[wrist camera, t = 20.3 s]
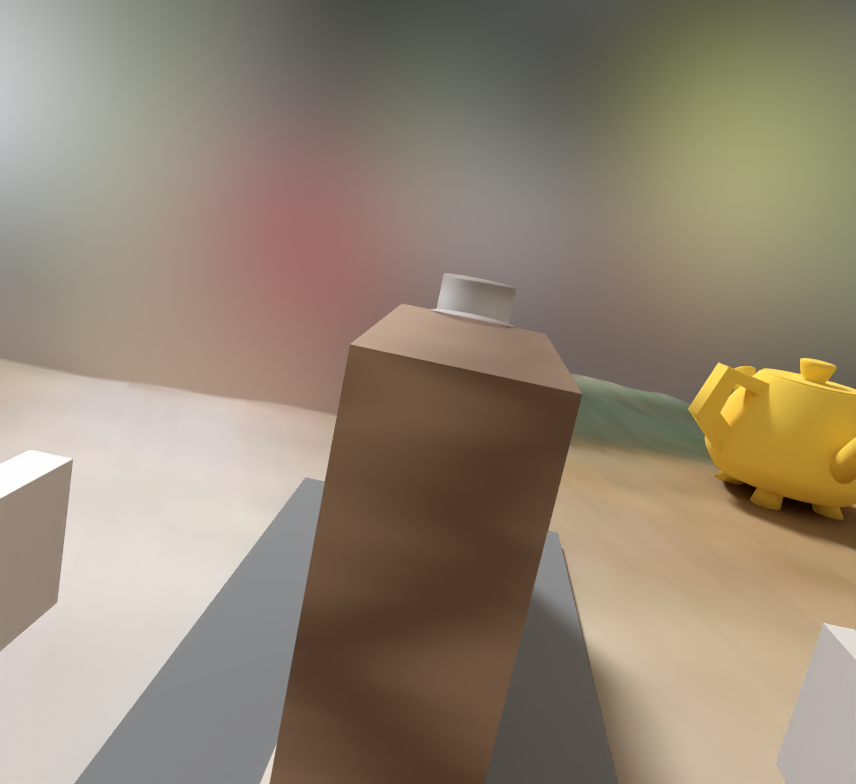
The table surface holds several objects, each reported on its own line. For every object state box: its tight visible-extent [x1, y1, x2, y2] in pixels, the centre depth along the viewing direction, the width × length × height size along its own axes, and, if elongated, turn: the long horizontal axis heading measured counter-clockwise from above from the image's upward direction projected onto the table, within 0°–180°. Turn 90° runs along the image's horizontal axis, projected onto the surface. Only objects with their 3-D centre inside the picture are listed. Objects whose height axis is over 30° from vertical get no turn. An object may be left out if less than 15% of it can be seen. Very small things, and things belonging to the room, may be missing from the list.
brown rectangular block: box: [269, 304, 582, 784], centre depth 21 cm, size 4×10×12 cm, turn 176°
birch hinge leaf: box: [437, 273, 516, 324], centre depth 33 cm, size 12×3×13 cm, turn 176°
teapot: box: [688, 358, 856, 520], centre depth 60 cm, size 20×18×11 cm
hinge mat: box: [75, 478, 618, 784], centre depth 28 cm, size 28×14×1 cm, turn 176°
